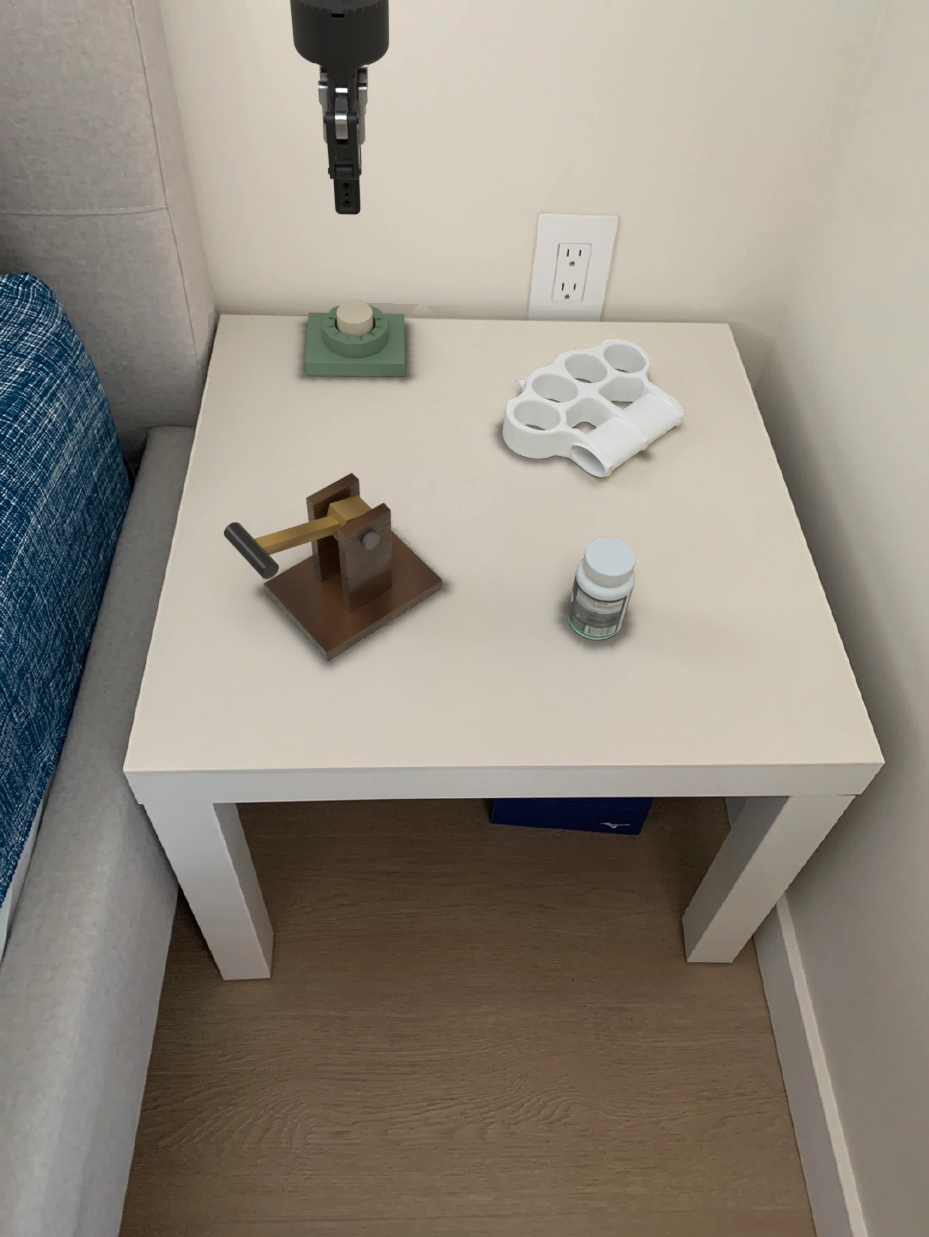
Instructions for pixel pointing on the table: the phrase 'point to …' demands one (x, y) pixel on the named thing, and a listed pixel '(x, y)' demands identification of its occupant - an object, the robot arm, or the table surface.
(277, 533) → the switch lever
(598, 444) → the knuckle duster
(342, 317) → the button
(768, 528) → the table surface
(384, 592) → the switch bracket
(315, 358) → the button block
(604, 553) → the pill bottle
